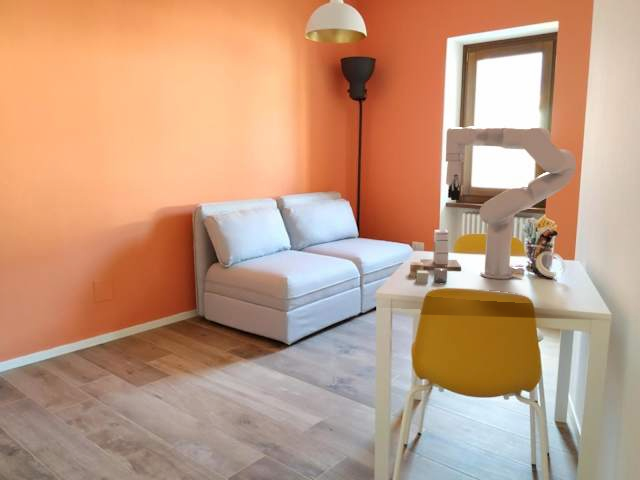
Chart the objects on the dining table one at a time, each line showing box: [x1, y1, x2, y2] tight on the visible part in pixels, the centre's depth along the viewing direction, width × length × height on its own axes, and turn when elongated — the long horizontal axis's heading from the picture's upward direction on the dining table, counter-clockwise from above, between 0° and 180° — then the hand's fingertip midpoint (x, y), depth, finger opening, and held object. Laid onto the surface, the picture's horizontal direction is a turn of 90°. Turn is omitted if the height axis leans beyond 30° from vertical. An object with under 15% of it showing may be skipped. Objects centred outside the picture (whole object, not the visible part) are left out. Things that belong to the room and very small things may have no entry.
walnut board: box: [420, 258, 462, 271], centre depth 230 cm, size 16×14×2 cm
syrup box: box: [432, 229, 450, 264], centre depth 228 cm, size 6×6×14 cm
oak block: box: [409, 261, 424, 278], centre depth 214 cm, size 5×5×5 cm
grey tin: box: [433, 268, 448, 284], centre depth 203 cm, size 5×5×5 cm
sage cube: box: [416, 270, 429, 284], centre depth 204 cm, size 4×4×4 cm
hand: (453, 198), depth 220 cm, fingers open, 9 cm apart
